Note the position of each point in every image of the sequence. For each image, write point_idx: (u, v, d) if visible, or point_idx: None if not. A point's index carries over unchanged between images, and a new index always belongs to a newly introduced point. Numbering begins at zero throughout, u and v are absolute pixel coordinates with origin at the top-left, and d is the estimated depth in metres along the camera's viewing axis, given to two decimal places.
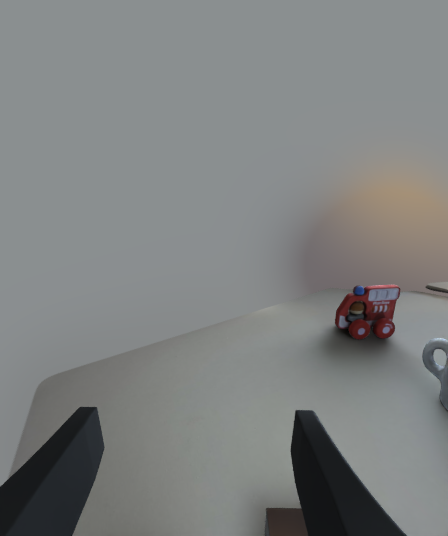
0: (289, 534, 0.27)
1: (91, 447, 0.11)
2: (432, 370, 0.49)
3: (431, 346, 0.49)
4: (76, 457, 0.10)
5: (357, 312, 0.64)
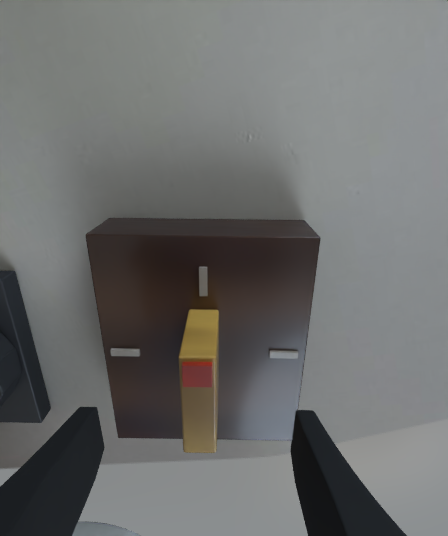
0: (130, 282, 0.14)
1: (91, 447, 0.11)
2: None
3: None
4: (76, 457, 0.10)
5: None
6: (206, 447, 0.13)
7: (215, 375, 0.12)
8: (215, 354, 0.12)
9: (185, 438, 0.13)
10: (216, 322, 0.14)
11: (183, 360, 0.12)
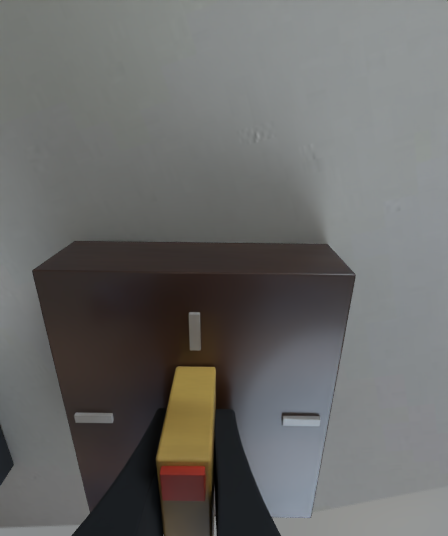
0: (96, 332, 0.11)
1: None
2: None
3: None
4: None
5: None
6: None
7: (210, 482, 0.08)
8: (209, 453, 0.08)
9: None
10: (212, 390, 0.10)
11: (162, 464, 0.08)
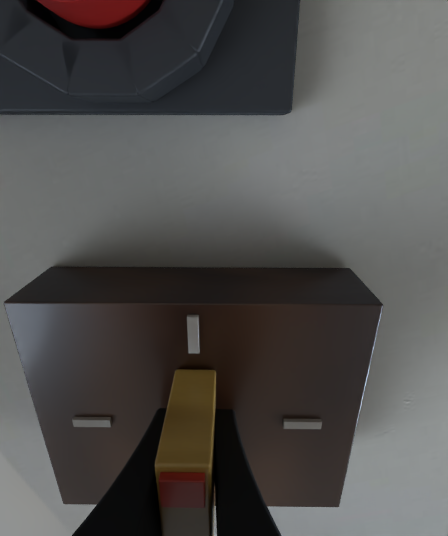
0: (307, 349, 0.11)
1: None
2: None
3: None
4: None
5: None
6: None
7: (209, 488, 0.08)
8: (209, 459, 0.08)
9: None
10: (212, 393, 0.10)
11: (161, 470, 0.08)
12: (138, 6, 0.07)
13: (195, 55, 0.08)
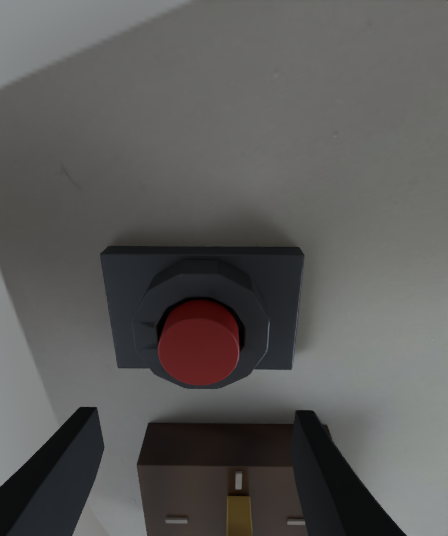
0: None
1: (91, 447, 0.11)
2: None
3: None
4: (76, 457, 0.10)
5: None
6: None
7: None
8: None
9: None
10: (249, 516, 0.18)
11: None
12: None
13: (247, 375, 0.16)
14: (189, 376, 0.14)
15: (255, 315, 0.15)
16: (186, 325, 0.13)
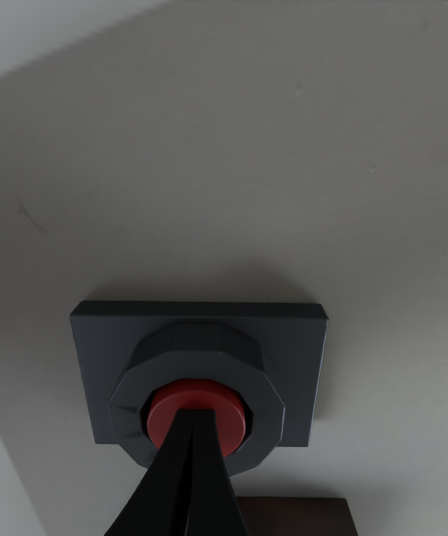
0: None
1: None
2: None
3: None
4: (189, 459, 0.10)
5: None
6: None
7: None
8: None
9: None
10: None
11: None
12: None
13: (255, 466, 0.13)
14: None
15: (267, 400, 0.11)
16: (181, 399, 0.11)
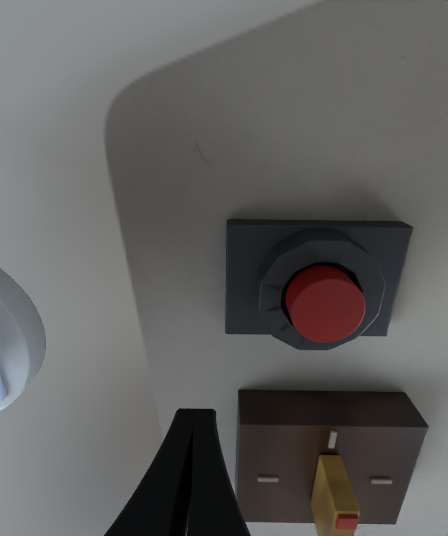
0: (389, 446, 0.21)
1: None
2: None
3: None
4: (189, 459, 0.10)
5: None
6: None
7: None
8: (358, 508, 0.18)
9: None
10: (345, 471, 0.20)
11: (338, 513, 0.18)
12: None
13: (356, 337, 0.18)
14: (316, 334, 0.16)
15: (374, 279, 0.16)
16: (322, 285, 0.15)
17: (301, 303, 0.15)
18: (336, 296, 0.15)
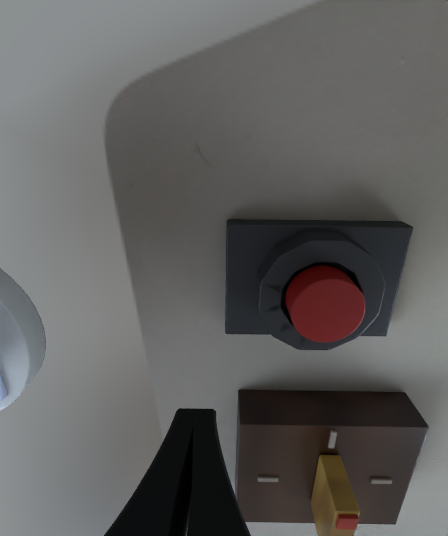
0: (389, 446, 0.21)
1: None
2: None
3: None
4: (189, 459, 0.10)
5: None
6: None
7: None
8: (358, 508, 0.18)
9: None
10: (345, 471, 0.20)
11: (338, 513, 0.18)
12: None
13: (356, 337, 0.18)
14: (316, 334, 0.16)
15: (374, 279, 0.16)
16: (322, 285, 0.15)
17: (301, 303, 0.15)
18: (336, 296, 0.15)
